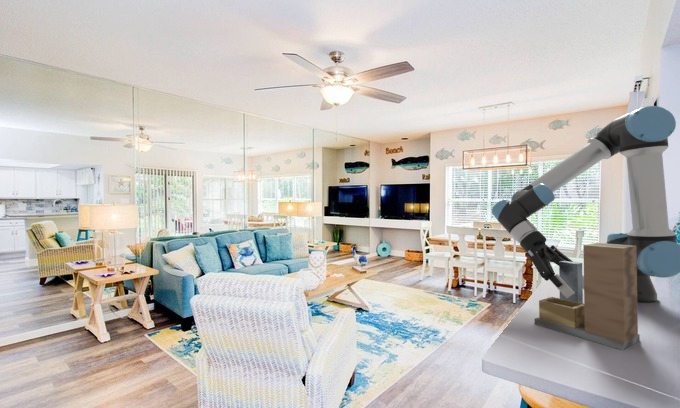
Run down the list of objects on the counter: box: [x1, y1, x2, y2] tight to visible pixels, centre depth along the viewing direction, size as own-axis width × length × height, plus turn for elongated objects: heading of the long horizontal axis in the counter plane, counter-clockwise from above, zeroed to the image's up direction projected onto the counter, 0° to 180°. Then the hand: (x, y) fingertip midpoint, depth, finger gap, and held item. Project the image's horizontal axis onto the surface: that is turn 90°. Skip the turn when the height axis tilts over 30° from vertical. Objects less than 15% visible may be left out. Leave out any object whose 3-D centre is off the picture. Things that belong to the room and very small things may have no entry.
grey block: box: [558, 261, 584, 304], centre depth 101 cm, size 3×5×16 cm, turn 31°
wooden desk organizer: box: [534, 242, 641, 351], centre depth 87 cm, size 10×20×24 cm, turn 31°
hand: (581, 292), depth 99 cm, fingers open, 11 cm apart
